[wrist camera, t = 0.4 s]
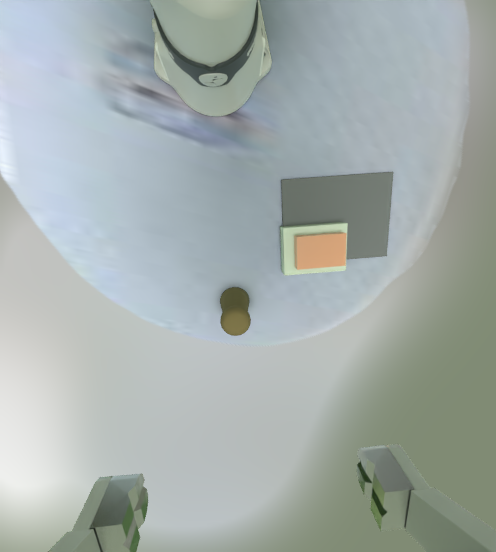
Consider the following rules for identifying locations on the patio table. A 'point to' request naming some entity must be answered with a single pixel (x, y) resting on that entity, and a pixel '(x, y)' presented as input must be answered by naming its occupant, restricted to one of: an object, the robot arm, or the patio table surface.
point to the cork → (235, 311)
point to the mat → (343, 208)
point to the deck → (291, 231)
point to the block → (320, 250)
